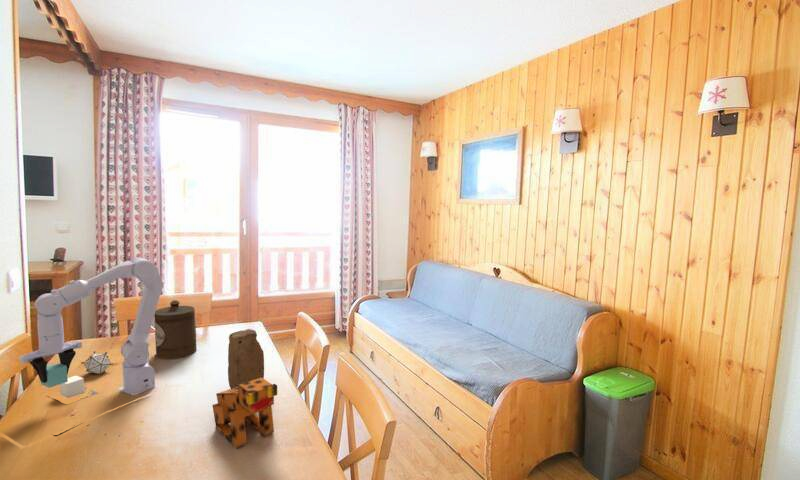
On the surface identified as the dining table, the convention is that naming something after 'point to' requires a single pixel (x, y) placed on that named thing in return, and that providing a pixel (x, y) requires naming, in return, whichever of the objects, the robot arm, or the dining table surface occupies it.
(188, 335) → the wooden container
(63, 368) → the teal brick
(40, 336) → the robot arm
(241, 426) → the toy animal
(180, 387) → the dining table surface
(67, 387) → the cream brick
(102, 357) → the game die
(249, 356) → the block
